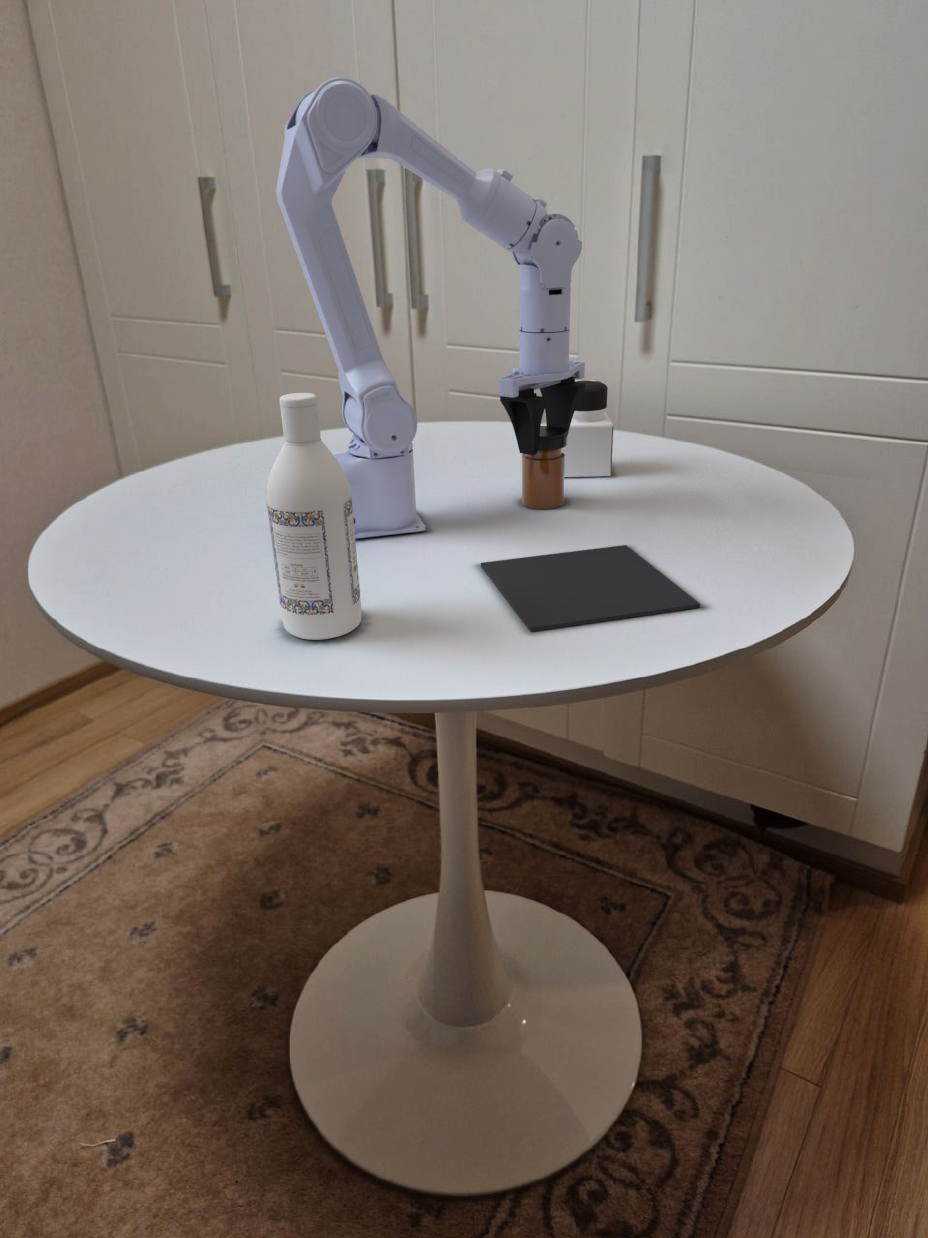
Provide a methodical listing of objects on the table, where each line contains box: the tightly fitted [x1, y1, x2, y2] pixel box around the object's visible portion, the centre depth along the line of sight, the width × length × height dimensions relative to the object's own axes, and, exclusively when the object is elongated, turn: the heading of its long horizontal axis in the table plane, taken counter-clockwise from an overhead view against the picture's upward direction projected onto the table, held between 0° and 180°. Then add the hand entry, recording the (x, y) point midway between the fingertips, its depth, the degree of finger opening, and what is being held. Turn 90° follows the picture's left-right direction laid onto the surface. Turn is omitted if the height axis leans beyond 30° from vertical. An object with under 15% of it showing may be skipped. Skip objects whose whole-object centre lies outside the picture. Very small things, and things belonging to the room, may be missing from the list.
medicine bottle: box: [562, 379, 614, 478], centre depth 116 cm, size 7×7×12 cm
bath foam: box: [266, 392, 363, 641], centre depth 72 cm, size 7×7×20 cm
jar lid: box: [538, 425, 567, 451], centre depth 103 cm, size 6×6×2 cm
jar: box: [521, 448, 565, 510], centre depth 105 cm, size 5×5×7 cm
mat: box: [480, 544, 701, 632], centre depth 82 cm, size 16×16×1 cm
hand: (543, 448), depth 103 cm, fingers closed on jar lid, 5 cm apart
